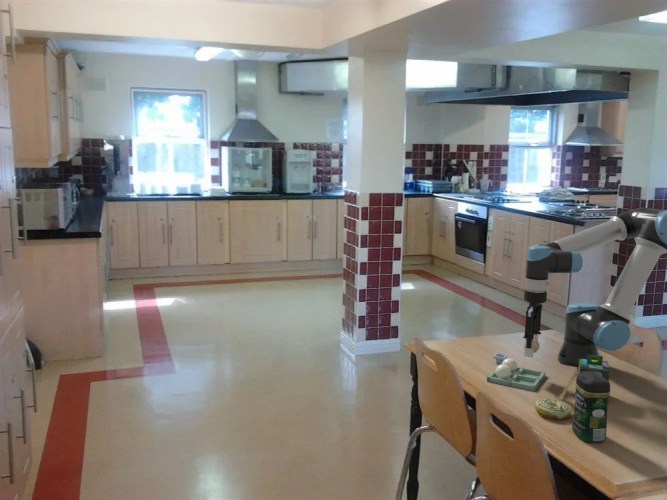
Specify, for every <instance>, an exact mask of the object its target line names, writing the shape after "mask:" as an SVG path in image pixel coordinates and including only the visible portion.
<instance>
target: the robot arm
mask: <svg viewBox="0 0 667 500" xmlns="http://www.w3.org/2000/svg"><path fill="white" fill-rule="evenodd" d="M628 239H634V241H635V247H634V248H633V249H632V252H631V254H630V256H629V258H628V260H627V262H626V263H625V265H624V267H623V270H622V271H621V272H620V274H619V277H618V279H617V280H616V282H615V283H614V286H613V288H612V290H611V292H609V293H610V294H609V295H608V297H607V299H606V301H605V303H603V304H597V303H596V304H595V303H586V302H580V303H579V302H577V303H576V302H575V303H570V304H568V305H567V306H566V310H565V322H564V337H563V342H562V345H561V347H560V349H559V351H558V354H557V361H558V362H559V363H560V364H562V365H564V366H568V367H573V368H577V369H579V359H587V357H588V355H598V356H600V353H599V350H598V348H599V349H602V350H606V351H609V352H612V351H613V352H615V351H618V350H620V349H622V348H623V347H625V346H626V345H627V343H628V342H629V340H630V338H631V335H632V334H631V333H632V332H631V328H630V326H629V324H630V323H631V322H632V321H631V317H630V313H631V311H632V309H633V308H634V305H635V303H636V302H637V299H638V298H639V296H640V294H641V293H642V290H643V288H644V287H645V284H647V283H646V282H647V281H648V279H649V277H650V276H651V274H652V272H653V270H654V268H655V266H656V264H657V263H658V260H659V259H660V257H661V255H664V254H667V209H658V208H651V207H638V208H633V209H631V210H627V211H625V212H621V213H619V214H616V215H614V216H611V217H610V218H609V220H608V221H606V222H603V223H600V224H598V225H595V226H592V227H589V228H587V229H584V230H581V231H578V232H575V233H574V234H570V235H568V236H565V237H562V238H559V239H557V240H555V241H551V242H549V243H546V244H543V243H536V244H534V245H531V246H529V247H528V249H527V252H526V253H527V254H526V267H525V278H524V280H525V281H524V289H525V290H523V292H524V294H523V299H524V301H525V302H528V303H529V304H528V306H527V309H526V311H525V326H524V335H523V337H522V338H523V339H524V341H525V340H526V341H525V349H524V354H523V355H524V357H528V358H533V356H534V354H537V352H538V351H537V352H535V353H533V347H534V339H536V340H537V341H538V342H539V335H541V334H542V332H541V324H542V323H541V322H542V311H543V304H545V303H546V302H547V298H548V292H547V291H548V286H549V285H550V282H548V281H549V276H550V274H575V273H579V272H580V271H581V270H582V268H583V263H584V260H583V257H582V255H581V254H583V253H585V252H587V251H590V250H593V249H595V248H599V247H602V246H603V245H607V244H609V243H612V242H614V241H617V240H618V241H625V240H628ZM591 360H598V359H597V358H592V359H591Z"/></svg>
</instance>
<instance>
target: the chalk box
mask: <svg viewBox="0 0 667 500" xmlns="http://www.w3.org/2000/svg"><path fill="white" fill-rule="evenodd" d="M592 358H597V359H598V360H591V359H592ZM603 358H604V357H603V355H599V356H598V355H588V357H587V359H579V368H578V370H577V371H578V373H577V375H578V374H579V373H580V372H581V371H594V372H595V373H597V374H599V375H601V376H602V377H603V378H605V379H606V380H607V381H609V382H610V375H611V372H610V371H611V370H610V366H609V362H608V360H604V359H603Z"/></svg>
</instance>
